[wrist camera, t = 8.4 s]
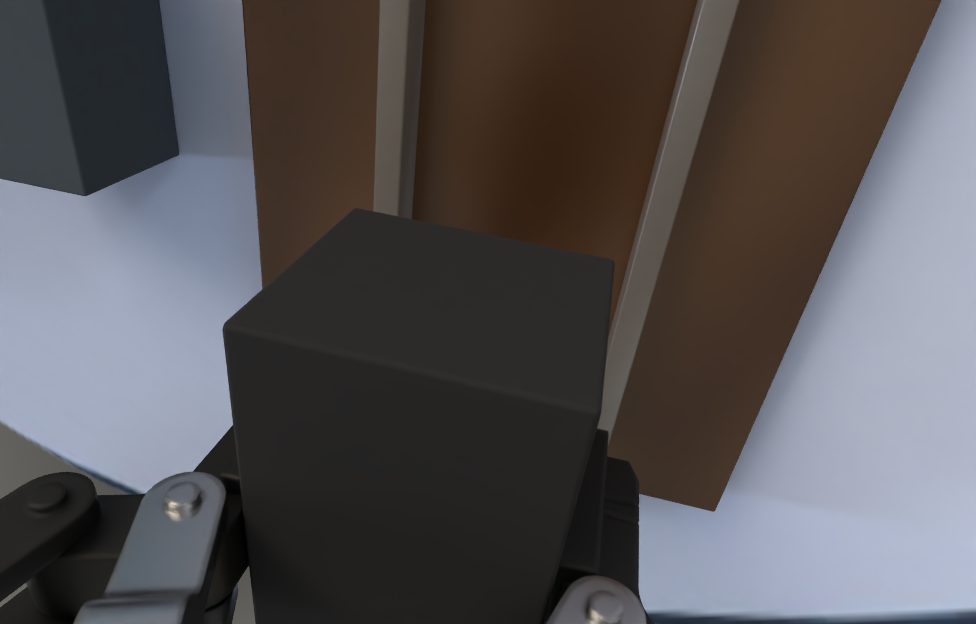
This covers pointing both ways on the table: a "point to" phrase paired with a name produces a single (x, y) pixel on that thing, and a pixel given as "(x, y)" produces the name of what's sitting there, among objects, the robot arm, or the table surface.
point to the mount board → (599, 168)
